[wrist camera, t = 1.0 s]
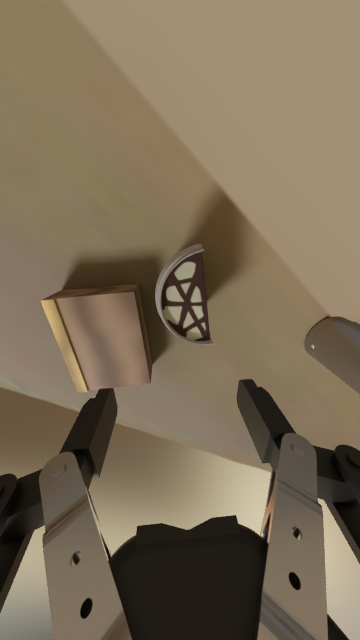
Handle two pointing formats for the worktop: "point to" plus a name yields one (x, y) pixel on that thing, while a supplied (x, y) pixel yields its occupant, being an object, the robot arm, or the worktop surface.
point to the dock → (101, 335)
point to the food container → (184, 296)
